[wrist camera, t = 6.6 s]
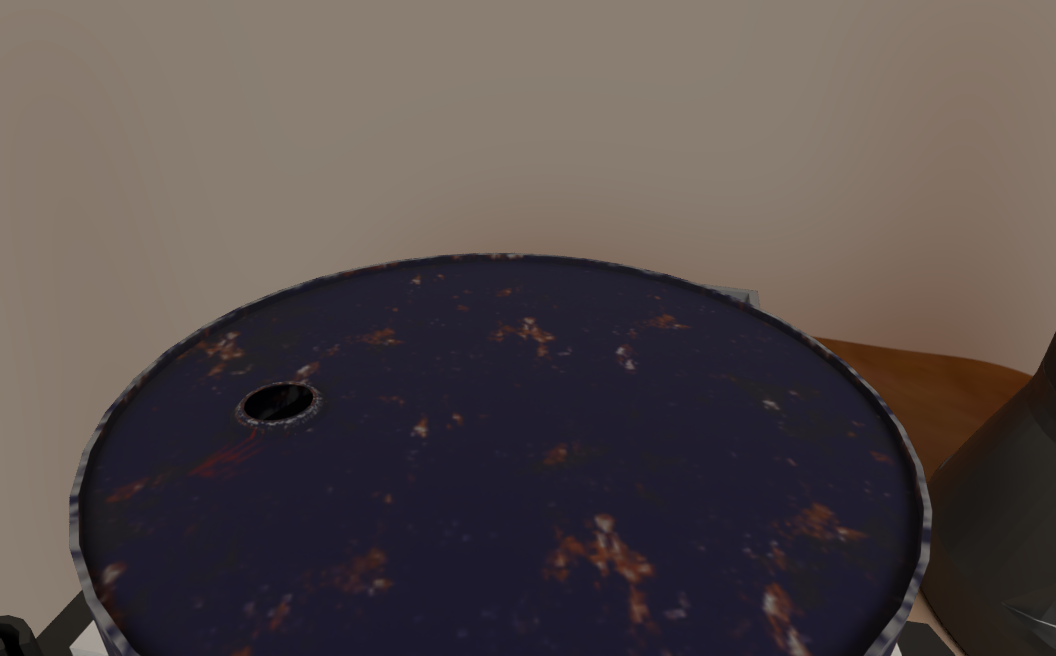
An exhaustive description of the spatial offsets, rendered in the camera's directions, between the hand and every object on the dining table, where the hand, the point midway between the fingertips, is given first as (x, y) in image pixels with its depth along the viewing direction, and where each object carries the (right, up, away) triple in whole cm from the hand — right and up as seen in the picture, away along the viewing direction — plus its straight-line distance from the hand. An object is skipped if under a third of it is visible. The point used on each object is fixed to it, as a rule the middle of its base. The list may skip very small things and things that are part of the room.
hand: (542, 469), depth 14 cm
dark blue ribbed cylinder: (-1, -11, +1) cm, 11 cm away
